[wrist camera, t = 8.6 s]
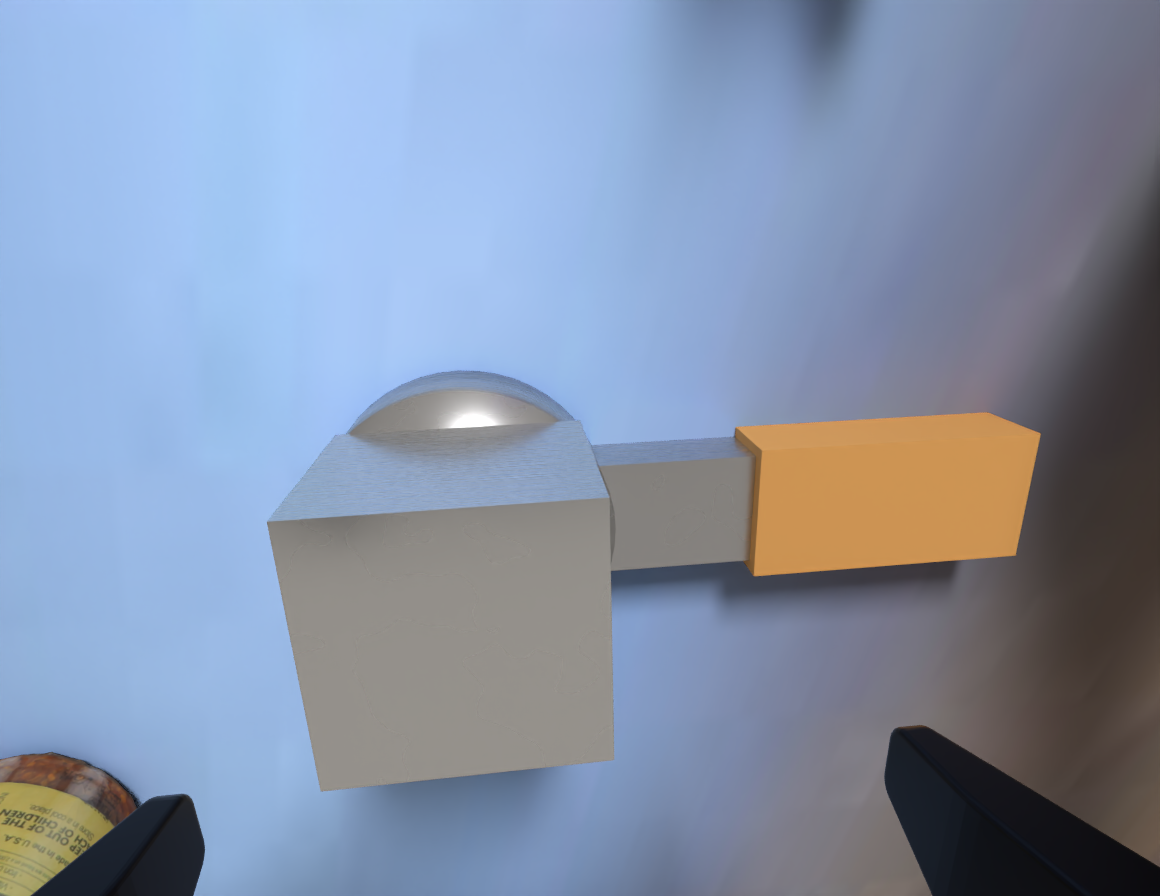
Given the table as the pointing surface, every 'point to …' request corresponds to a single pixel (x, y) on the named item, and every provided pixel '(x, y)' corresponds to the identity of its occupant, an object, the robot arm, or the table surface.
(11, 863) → the sauce bottle
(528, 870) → the table surface
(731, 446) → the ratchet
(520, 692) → the brushed metal cube
